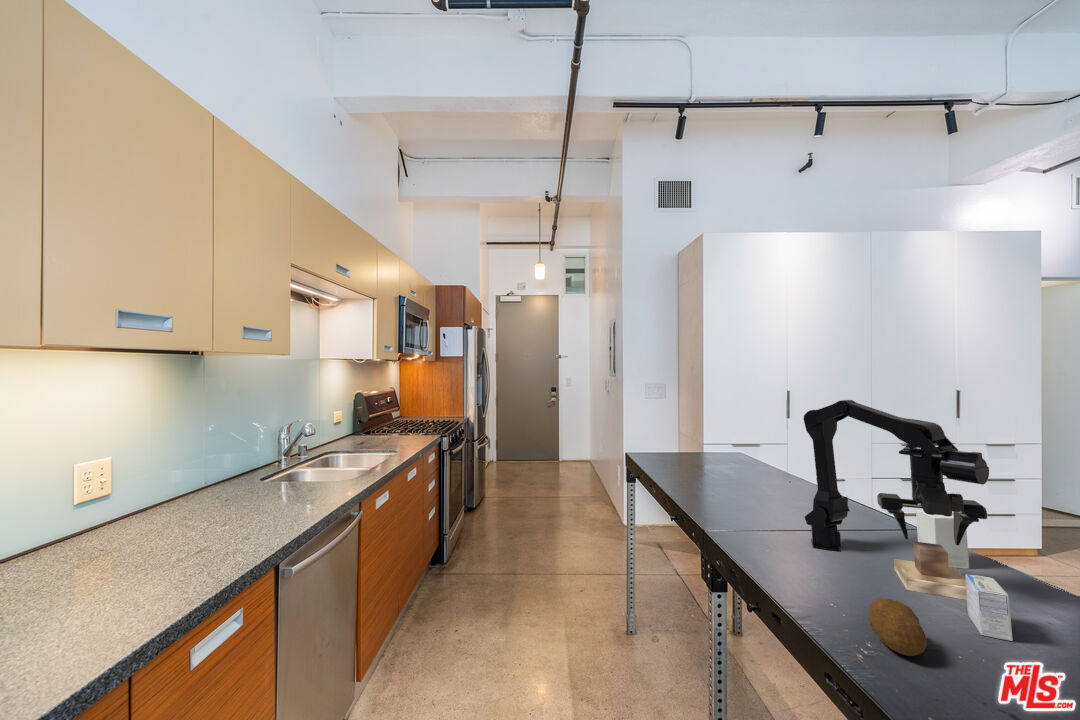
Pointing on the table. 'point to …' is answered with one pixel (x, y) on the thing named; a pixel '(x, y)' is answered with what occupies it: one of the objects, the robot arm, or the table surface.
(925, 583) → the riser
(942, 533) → the supplement box
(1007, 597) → the medicine box
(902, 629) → the potato
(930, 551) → the walnut block
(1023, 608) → the table surface
